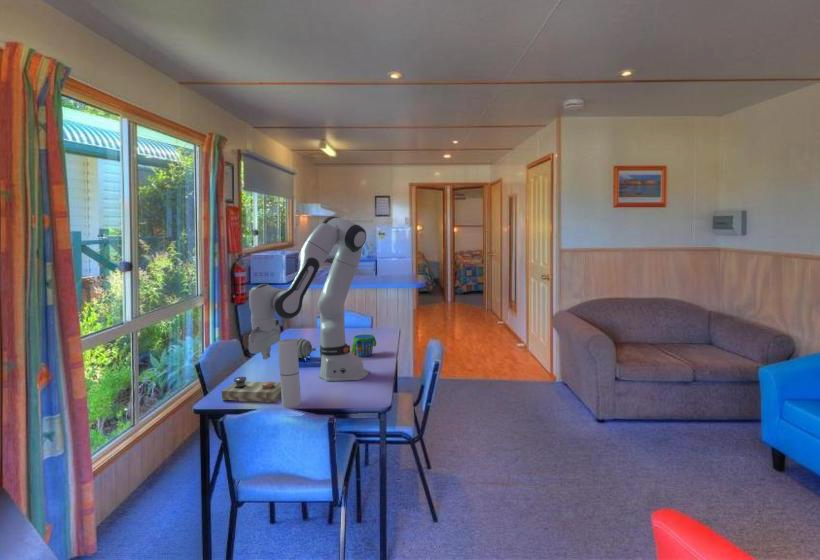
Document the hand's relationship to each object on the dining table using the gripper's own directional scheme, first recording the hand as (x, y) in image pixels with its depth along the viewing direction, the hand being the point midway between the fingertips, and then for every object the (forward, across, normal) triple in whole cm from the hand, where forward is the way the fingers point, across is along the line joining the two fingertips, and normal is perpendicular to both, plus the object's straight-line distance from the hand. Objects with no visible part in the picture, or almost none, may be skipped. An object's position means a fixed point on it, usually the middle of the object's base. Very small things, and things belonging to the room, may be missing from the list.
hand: (266, 358), depth 205 cm
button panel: (+16, -1, +7) cm, 17 cm away
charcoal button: (+13, -1, +13) cm, 18 cm away
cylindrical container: (+16, -8, -12) cm, 22 cm away
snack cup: (+18, +63, -22) cm, 69 cm away
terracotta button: (+15, -1, +1) cm, 15 cm away
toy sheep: (+16, +52, +9) cm, 56 cm away
